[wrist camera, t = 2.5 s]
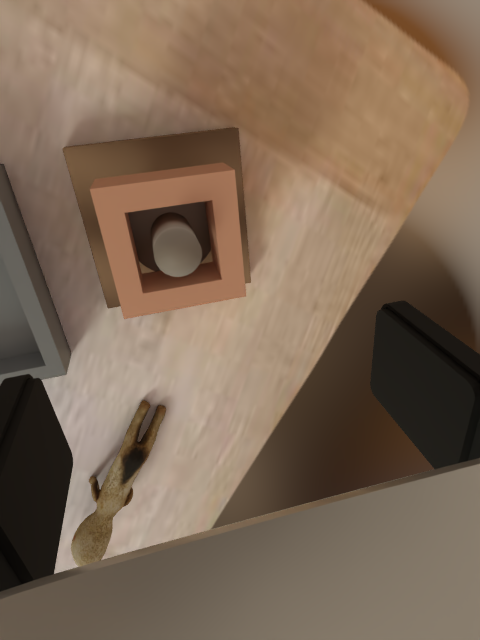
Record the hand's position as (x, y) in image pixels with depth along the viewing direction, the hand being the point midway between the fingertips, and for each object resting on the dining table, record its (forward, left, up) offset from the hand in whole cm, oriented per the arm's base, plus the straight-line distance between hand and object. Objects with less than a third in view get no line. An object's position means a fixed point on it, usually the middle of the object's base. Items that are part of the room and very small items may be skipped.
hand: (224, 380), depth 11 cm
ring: (0, 0, -15) cm, 15 cm away
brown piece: (0, 0, -18) cm, 18 cm away
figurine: (+20, -8, -18) cm, 28 cm away
